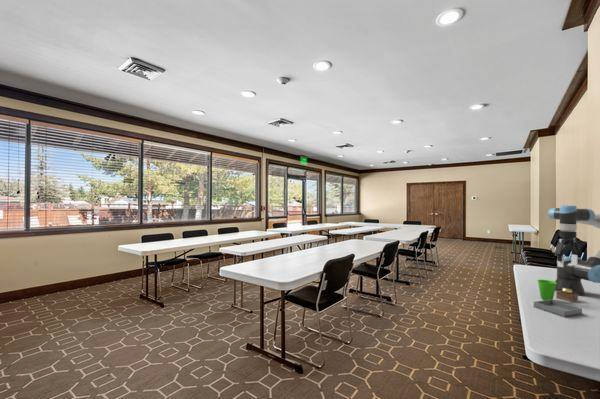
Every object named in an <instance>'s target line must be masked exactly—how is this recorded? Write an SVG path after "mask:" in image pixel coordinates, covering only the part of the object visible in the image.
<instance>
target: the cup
mask: <svg viewBox="0 0 600 399" xmlns="http://www.w3.org/2000/svg"><path fill="white" fill-rule="evenodd" d="M537 282H538V290H539V293H540V294H539V295H540V298H541V301H543V300H554V296H555V292H556V290H555V288H556V284H557V283H556V282H555V281H553V280H549V279H537Z"/></svg>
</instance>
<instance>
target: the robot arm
mask: <svg viewBox="0 0 600 399" xmlns="http://www.w3.org/2000/svg"><path fill="white" fill-rule="evenodd" d="M547 216H548V218H549V219H551V220H555V221H556V220H557V221H559V224H558V227H559V231H558V232H559V237H561V238H558V239H557V245H556V247H555V250H554V255H555V256H557V259H556V279H555V281H554V282H556V283H557V284H556V288H555V292H557V291H562V288H569V289H572V293H575V294H578V296H585V295H586V294H585V292H586V291H585V288H584V285H583V284H582V280H585V281H588V282H592V283H595V284H600V250H598V252H597V253H596V254H595V256H589V257H588V258H587V259H586V260H582V257H578V256H580V255H581V250H580V247H579V243H578V239H577V224H582V225H588V226H593V227H594V228H596V229H600V213H597V214H596V213H595V212H594V210H592V209H590V208H577V206H576V205H565V204H564V205H560V206H559V207H552V208H549V210H548V212H547ZM567 248H569V250H570V252H571V256H564V254H565V251H566V250H567Z"/></svg>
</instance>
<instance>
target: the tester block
mask: <svg viewBox="0 0 600 399" xmlns="http://www.w3.org/2000/svg"><path fill="white" fill-rule="evenodd" d="M555 292H556V294H555V295H556V297H555V298H556V299H559V300H562V301H565V302H569V303H572V302H573V303H574V302H578V301H579V295H578V294H575V293H572V294H570V295H569V294H565V293H562V291H555Z"/></svg>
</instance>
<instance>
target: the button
mask: <svg viewBox="0 0 600 399" xmlns="http://www.w3.org/2000/svg"><path fill="white" fill-rule="evenodd" d="M562 293H565V294H569V295H570V294H572V289H569V288H562Z"/></svg>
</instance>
